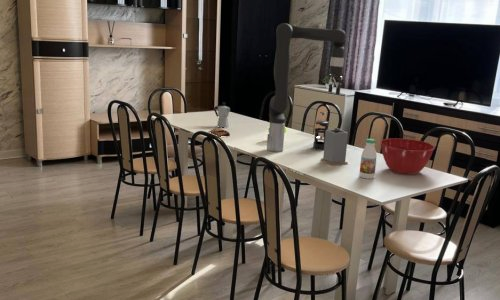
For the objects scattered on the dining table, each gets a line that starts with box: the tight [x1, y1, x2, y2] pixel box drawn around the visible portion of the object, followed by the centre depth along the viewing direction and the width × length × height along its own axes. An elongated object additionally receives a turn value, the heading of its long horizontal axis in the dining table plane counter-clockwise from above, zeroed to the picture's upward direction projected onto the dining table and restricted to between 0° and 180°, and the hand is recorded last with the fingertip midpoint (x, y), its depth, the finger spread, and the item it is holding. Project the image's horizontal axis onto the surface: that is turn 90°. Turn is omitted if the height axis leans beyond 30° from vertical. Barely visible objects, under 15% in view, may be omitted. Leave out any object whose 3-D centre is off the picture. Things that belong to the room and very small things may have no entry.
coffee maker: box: [213, 102, 232, 128], centre depth 374 cm, size 15×9×18 cm, turn 58°
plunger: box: [333, 127, 341, 133], centre depth 289 cm, size 7×7×14 cm
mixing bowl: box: [379, 138, 436, 175], centre depth 279 cm, size 28×28×16 cm
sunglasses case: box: [208, 126, 231, 138], centre depth 349 cm, size 18×7×7 cm, turn 32°
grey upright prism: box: [320, 129, 349, 166], centre depth 290 cm, size 11×11×18 cm
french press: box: [312, 111, 331, 151], centre depth 323 cm, size 12×9×23 cm
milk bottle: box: [358, 138, 378, 180], centre depth 263 cm, size 8×8×20 cm
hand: (333, 93), depth 299 cm, fingers open, 8 cm apart
